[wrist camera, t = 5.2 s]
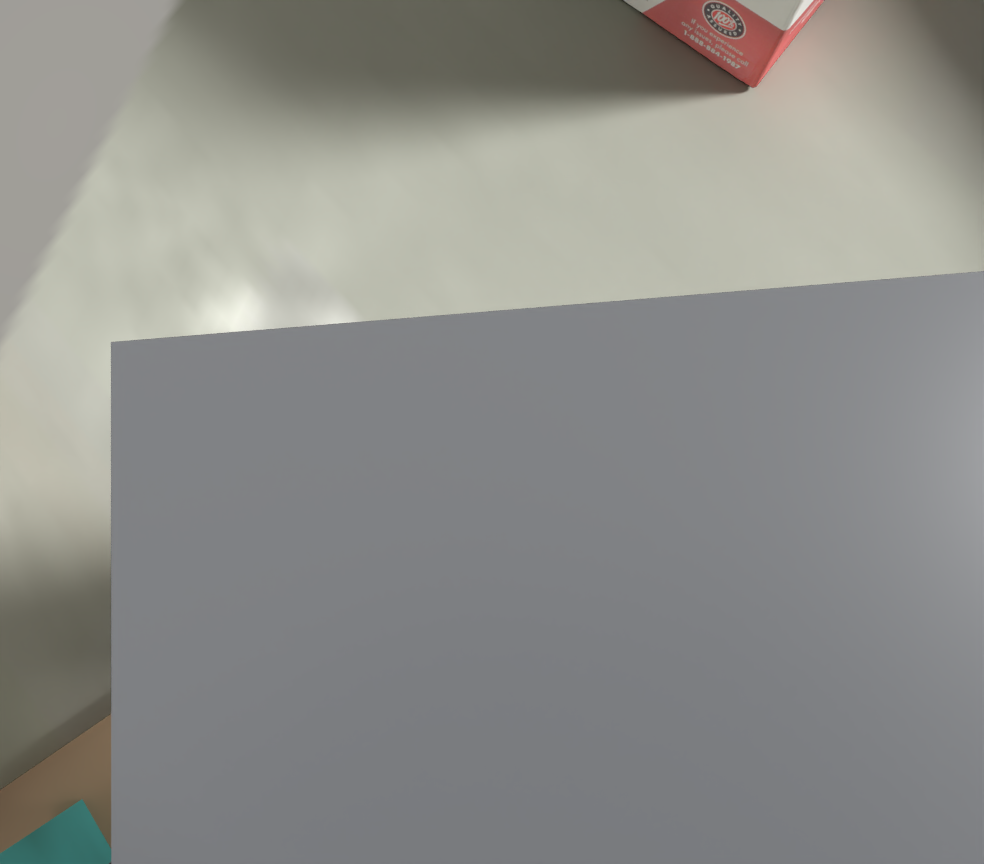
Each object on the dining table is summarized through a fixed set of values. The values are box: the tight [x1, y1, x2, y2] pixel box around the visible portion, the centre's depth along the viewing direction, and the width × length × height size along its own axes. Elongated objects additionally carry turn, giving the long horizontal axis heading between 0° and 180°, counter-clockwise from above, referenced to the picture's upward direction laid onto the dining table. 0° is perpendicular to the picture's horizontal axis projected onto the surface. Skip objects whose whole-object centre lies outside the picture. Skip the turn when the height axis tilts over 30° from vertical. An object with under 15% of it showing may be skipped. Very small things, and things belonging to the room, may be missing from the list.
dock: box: [0, 714, 111, 864], centre depth 17 cm, size 11×18×7 cm, turn 124°
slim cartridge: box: [111, 271, 984, 864], centre depth 9 cm, size 4×4×14 cm
